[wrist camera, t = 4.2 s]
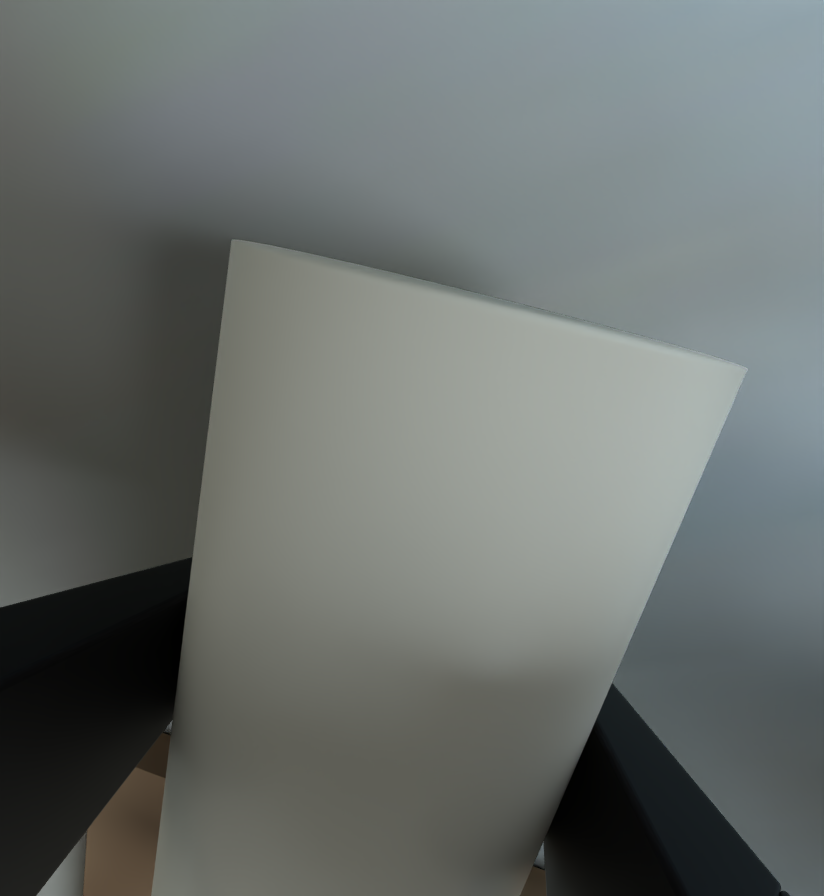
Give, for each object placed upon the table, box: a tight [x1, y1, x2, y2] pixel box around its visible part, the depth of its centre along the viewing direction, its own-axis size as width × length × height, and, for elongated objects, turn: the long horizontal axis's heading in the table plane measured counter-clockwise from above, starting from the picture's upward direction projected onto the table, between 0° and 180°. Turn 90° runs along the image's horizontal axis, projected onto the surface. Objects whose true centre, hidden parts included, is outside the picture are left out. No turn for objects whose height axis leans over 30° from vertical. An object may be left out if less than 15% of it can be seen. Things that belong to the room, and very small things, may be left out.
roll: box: [151, 239, 748, 896], centre depth 7 cm, size 5×10×5 cm, turn 167°
